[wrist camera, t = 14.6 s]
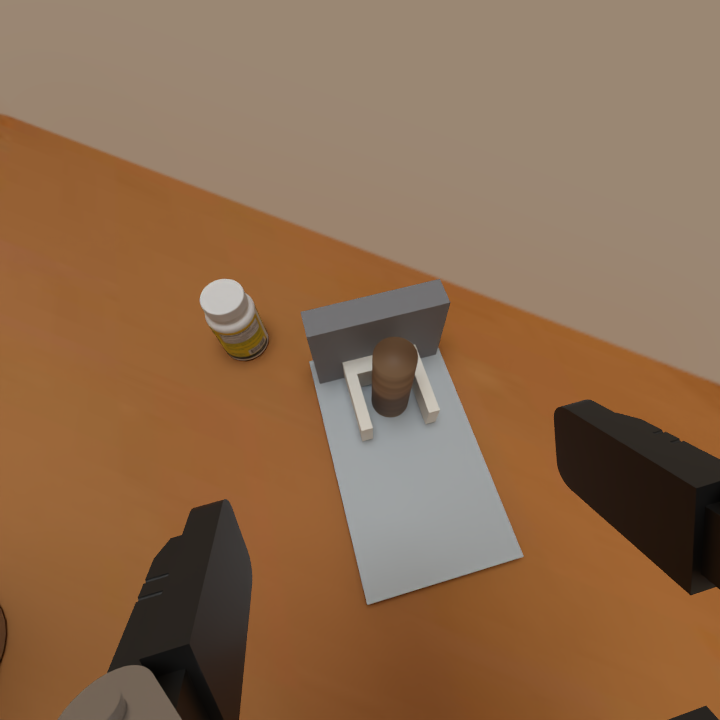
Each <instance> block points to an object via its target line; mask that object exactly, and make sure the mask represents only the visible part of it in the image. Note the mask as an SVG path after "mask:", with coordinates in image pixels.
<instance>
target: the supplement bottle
mask: <svg viewBox="0 0 720 720" xmlns="http://www.w3.org/2000/svg"><path fill="white" fill-rule="evenodd" d="M200 304H201V307H202V309H203V310H204V313H205V318H206V321H207V323H208V325H209V327H210V328H211V330H212V331H213V333H214V334H215V335H216V337H217V338H218V340H219V341H220V343H221V344H222V346H223V347H224V349H225V350H226V352H227V353H228V354H229V355H230V356H231V357H233V358H234V359H237V360H250V359H253V358H256V357H257V356H259V355H260V354H261V353H262V352H263V351H264V350H265V349H266V347H267V344H268V334H267V331H266V328H265V326H264V324H263V322H262V320H261V318H260V316H259V313H258V311H257V309H256V307H255V304H254V302H253V300H252V299H251V297H250V296H249V295H247V294H246V293H245V292H244V290H243V288H242V286H241V285H240V284H239V283H238V282H236V281H234V280H231V279H220V280H216V281H214V282H212V283H210V284H209V285H207V286H206V287H205V288H204V290H203V291H202V293H201V296H200Z"/></svg>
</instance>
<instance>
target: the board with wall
mask: <svg viewBox="0 0 720 720" xmlns="http://www.w3.org/2000/svg"><path fill="white" fill-rule="evenodd" d="M449 305H450V301H449V299H448V296H447V294H446V292H445V290H444V287H443V285H442V283H441V281H440V279H438V280H434V281H429V282H425V283H421V284H417V285H413V286H408V287H404V288H400V289H396V290H392V291H387V292H383V293H379V294H375V295H371V296H366V297H362V298H358V299H354V300H349V301H345V302H341V303H337V304H333V305H328V306H324V307H320V308H316V309H312V310H307V311H303V312H301V316H302V320H303V324H304V328H305V332H306V336H307V340H308V344H309V347H310V351H311V354H312V358H313V361H309V362H310V367H311V371H312V375H313V379H314V383H315V388H316V392H317V396H318V400H319V404H320V409H321V413H322V417H323V421H324V425H325V430H326V434H327V438H328V442H329V446H330V451H331V455H332V459H333V463H334V467H335V472H336V476H337V480H338V484H339V488H340V493H341V497H342V501H343V505H344V509H345V514H346V518H347V522H348V526H349V530H350V534H351V539H352V543H353V547H354V551H355V555H356V560H357V564H358V568H359V572H360V576H361V581H362V585H363V589H364V593H365V597H366V602H367V605H369V604H372V603H375V602H378V601H382V600H385V599H388V598H391V597H395V596H398V595H401V594H404V593H408V592H411V591H414V590H417V589H421V588H424V587H427V586H430V585H434V584H437V583H440V582H443V581H447V580H450V579H453V578H456V577H459V576H463V575H466V574H469V573H472V572H476V571H479V570H482V569H485V568H489V567H492V566H495V565H498V564H502V563H505V562H508V561H511V560H515V559H518V558H521V557H524V556H523V554H522V551H521V549H520V546H519V544H518V541H517V539H516V537H515V534H514V532H513V529H512V527H511V524H510V522H509V519H508V517H507V515H506V512H505V510H504V507H503V505H502V502H501V500H500V497H499V495H498V492H497V490H496V488H495V485H494V483H493V480H492V478H491V475H490V473H489V470H488V468H487V466H486V463H485V461H484V458H483V456H482V453H481V451H480V448H479V446H478V444H477V441H476V439H475V436H474V434H473V431H472V429H471V426H470V424H469V421H468V419H467V417H466V414H465V412H464V409H463V407H462V404H461V402H460V399H459V397H458V395H457V392H456V390H455V387H454V385H453V382H452V380H451V377H450V375H449V373H448V370H447V368H446V365H445V363H444V360H443V358H442V355H441V353H440V351H439V348H438V345H439V342H440V338H441V334H442V331H443V327H444V323H445V320H446V316H447V313H448V309H449ZM388 337H401V338H404V339H406V340H408V341H410V342H411V343H412V344H413V345H414V344H415V345H416V348H417V351H418V353H419V356H420V358H421V361H422V364H423V366H424V369H425V372H426V374H427V377H428V379H429V382H430V385H431V387H432V390H433V393H434V395H435V398H436V401H437V403H438V406H439V408H440V411H439V414H438V417H437V419H436V422H432V423H428V424H425V422H424V419H423V416H422V414H421V411H420V408H419V405H418V402H417V400H416V397H415V394H414V391H413V388H411V392H410V397H409V401H408V405H407V408H406V409H405V411H404V412H403V413H402V414H400V415H399V416H396V417H384V416H382V415H380V414H378V413H377V412H376V411H375V409H374V408H373V406H372V401H371V397H372V384H370V385H366V386H362V387H361V389H362V393H363V396H364V399H365V403H366V406H367V410H368V413H369V416H370V420H371V423H372V427H373V439H369V440H365V441H362V438H361V434H360V431H359V427H358V424H357V420H356V416H355V413H354V409H353V406H352V402H351V398H350V395H349V391H348V388H347V384H346V380H345V377H344V370H343V364H342V363H343V362H347V361H351V360H355V359H359V358H363V357H367V356H370V355H373V350H374V348H375V346H376V345H377V344H378V343H379V342H380V341H381V340H383V339H385V338H388Z"/></svg>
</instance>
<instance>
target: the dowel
mask: <svg viewBox="0 0 720 720" xmlns="http://www.w3.org/2000/svg"><path fill="white" fill-rule="evenodd" d="M417 363H418V353H417V350H416V348H415V346H414V345H413V344H412V343H411V342H410V341H408V340H406V339H404V338H401V337H388V338H385V339H383V340H381V341H380V342H379V343H378V344H377V345H376V346H375V348H374V350H373V355H372V397H371V401H372V406H373V408H374V409H375V411H376V412H377V413H378V414H380V415H382V416H384V417H396V416H399V415H400V414H402V413H403V412H404V411H405V409H406V408H407V405H408V401H409V397H410V392H411V388H412V384H413V380H414V375H415V371H416V367H417Z"/></svg>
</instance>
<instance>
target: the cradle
mask: <svg viewBox="0 0 720 720" xmlns="http://www.w3.org/2000/svg"><path fill="white" fill-rule="evenodd" d="M414 346H415V348H416V345H415V344H414ZM416 350H417V348H416ZM417 353H418V351H417ZM342 364H343V370H344V377H345V380H346V384H347V388H348V391H349V395H350V398H351V402H352V406H353V409H354V413H355V416H356V420H357V424H358V427H359V431H360V434H361V438H362V441H365V440H369V439H373V427H372V423H371V420H370V416H369V413H368V410H367V406H366V403H365V399H364V396H363V393H362V389H361V387H362V386H366V385H370V384H372V355H370V356H367V357H363V358H359V359H355V360H351V361H347V362H343V363H342ZM412 388H413V391H414V394H415V397H416V400H417V402H418V405H419V408H420V411H421V414H422V416H423V419H424V422H425V424H428V423H432V422H436V419H437V417H438V414H439V411H440V408H439V406H438V403H437V401H436V398H435V395H434V393H433V390H432V387H431V385H430V382H429V379H428V377H427V374H426V372H425V369H424V366H423V364H422V361H421V358H420V356H419V353H418V363H417V367H416V371H415V375H414V380H413V384H412Z"/></svg>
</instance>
